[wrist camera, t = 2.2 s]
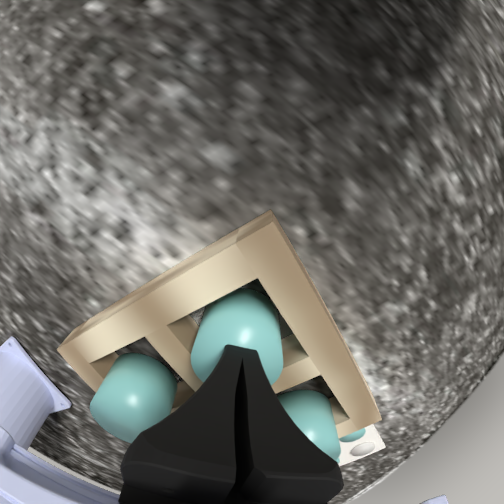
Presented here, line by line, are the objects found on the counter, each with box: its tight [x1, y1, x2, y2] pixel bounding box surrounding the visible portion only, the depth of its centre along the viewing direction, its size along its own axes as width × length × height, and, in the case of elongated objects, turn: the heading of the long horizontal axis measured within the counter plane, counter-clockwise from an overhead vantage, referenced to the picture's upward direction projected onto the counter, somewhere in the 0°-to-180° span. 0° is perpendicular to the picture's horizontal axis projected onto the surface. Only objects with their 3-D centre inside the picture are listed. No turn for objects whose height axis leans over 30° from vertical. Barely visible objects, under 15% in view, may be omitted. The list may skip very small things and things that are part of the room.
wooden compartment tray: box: [57, 210, 382, 438], centre depth 16 cm, size 15×15×2 cm
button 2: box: [90, 353, 177, 443], centre depth 13 cm, size 4×4×4 cm
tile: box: [336, 424, 385, 466], centre depth 20 cm, size 7×7×1 cm
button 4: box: [191, 288, 283, 385], centre depth 14 cm, size 4×4×4 cm
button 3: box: [277, 390, 341, 461], centre depth 14 cm, size 4×4×4 cm
